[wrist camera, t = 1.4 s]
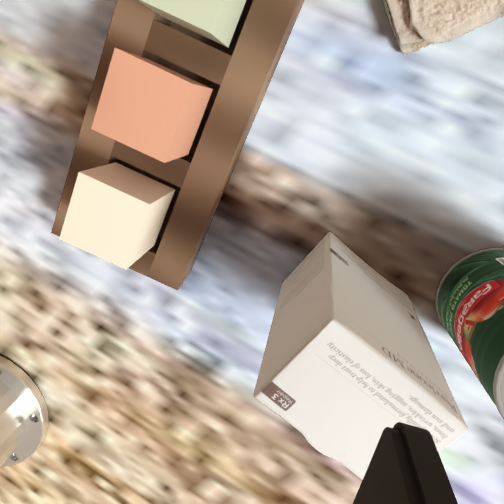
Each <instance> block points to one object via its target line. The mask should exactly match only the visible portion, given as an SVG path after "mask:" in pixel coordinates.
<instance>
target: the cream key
mask: <svg viewBox="0 0 504 504" xmlns="http://www.w3.org/2000/svg"><path fill="white" fill-rule="evenodd" d="M174 192H175V189H173V188H171V187H168V186H166V185H164V184H162V183H160V182H158V181H155V180H153V179H151V178H149V177H147V176H145V175H142V174H140V173H138V172H136V171H134V170H131V169H129V168H127V167H125V166H123V165H121V164H118V163H116V162H115V163H111V164H107V165H103V166H99V167H96V168H92V169H88V170H84V171H80V172H79V173H78V176H77V180H76V183H75V186H74V190H73V193H72V197H71V200H70V204H69V207H68V210H67V214H66V217H65V221H64V224H63V227H62V231H61V234H60V238H59V239H60V240H62V241H64V242H67V243H69V244H71V245H73V246H75V247H77V248H80V249H82V250H84V251H86V252H88V253H91V254H93V255H95V256H97V257H99V258H102V259H104V260H106V261H108V262H110V263H113V264H115V265H117V266H119V267H121V268H124V269H128V268H129V267H130V266H131V265H132V264H133V263H134V262H136V261H137V260H138V259H139V258H140V257H141V256H143V255H144V254H145V253H146V252H147V251H148V250H149V249H151V248H152V247H153V246H154V244H155V242H156V239H157V236H158V234H159V231H160V229H161V226H162V223H163V221H164V218H165V215H166V213H167V210H168V207H169V205H170V202H171V199H172V197H173V194H174Z"/></svg>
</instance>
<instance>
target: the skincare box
mask: <svg viewBox="0 0 504 504" xmlns="http://www.w3.org/2000/svg"><path fill="white" fill-rule="evenodd" d="M254 397H255V398H256V399H257V400H259V401H260V402H261V403H263V404H264V405H265V406H267V407H268V408H269V409H271V410H272V411H274V412H275V413H276V414H278V415H279V416H280V417H282V418H283V419H284V420H286V421H287V422H288V423H290V424H291V425H292V426H294V427H295V428H296V429H297V430H299V431H300V432H301V433H302V434H303V435H304V436H305V438H306V439H307V441H308V442H309V443H310V444H311V445H312V446H313V447H314V448H315V449H316V450H318V451H319V452H320V453H322V454H324V455H325V456H328V457H330V458H333V459H335V460H338V461H339V462H340V463H341V464H343V465H344V466H345V467H347V468H348V469H349V470H350V471H352V472H353V473H354V474H355V475H357V476H358V477H359V478H360V479H362V480H363V478H364V476H365V473H366V471H367V468H368V466H369V464H370V461H371V459H372V456H373V454H374V451H375V449H376V447H377V444H378V442H379V439H380V437H381V435H382V432H383V430H384V429H385V428H386V427H390V428H393V427H394V425H395V424H396V423H398V422H401V423H405V424H408V425H412V426H416V427H419V428H423V429H427V430H428V431H429V432H430V434H431V435H432V438H433V441H434V443H435V446H436V448H437V451H438V452H440V451H441V450H443V449H444V448H445V447H447V446H448V445H450V444H451V443H453V442H454V441H455V440H457V439H458V438H459V437H461V436H462V435H463V434H464V433H466V432H467V431H468V427H467V425H466V424H465V422H464V420H463V417H462V415H461V413H460V411H459V409H458V406H457V404H456V402H455V400H454V398H453V395H452V393H451V391H450V389H449V387H448V384H447V382H446V380H445V378H444V375H443V373H442V371H441V368H440V366H439V364H438V362H437V359H436V357H435V355H434V353H433V350H432V348H431V346H430V343H429V341H428V339H427V337H426V334H425V332H424V330H423V328H422V326H421V324H420V321H419V319H418V317H417V314H416V312H415V310H414V308H413V305H412V303H411V301H410V299H409V297H408V296H407V294H406V293H404V292H403V291H402V290H400V289H399V288H397V287H396V286H394V285H393V284H392V283H390V282H389V281H388V280H386V279H385V278H384V277H382V276H381V275H380V274H379V273H377V272H376V271H375V270H374V269H372V268H371V267H370V266H369V265H368V264H366V263H365V262H364V261H363V260H362V259H360V258H359V257H358V256H357V255H356V254H355V253H354V252H353V251H351V250H350V249H349V248H348V247H347V246H346V245H345V244H344V243H342V242H341V241H340V240H339V238H337V237H336V236H335V235H334V234H333V233H331V232H328V233H327V234H326V235H325V236H324V237H323V239H322V240H321V241H320V242H319V243H318V244H317V245H316V246H315V247H314V248H313V250H312V251H311V252H310V253H309V254H308V255H307V256H306V257H305V258H304V260H303V261H302V262H301V263H300V264H299V265H298V266H297V267H296V268H295V269H294V271H293V272H292V273H291V274H290V275H289V276H288V277H287V278H286V279H285V280H284V281H283V283H282V286H281V290H280V294H279V298H278V301H277V305H276V309H275V313H274V317H273V321H272V325H271V328H270V332H269V336H268V341H267V345H266V348H265V352H264V356H263V360H262V364H261V368H260V372H259V376H258V379H257V383H256V387H255V391H254Z"/></svg>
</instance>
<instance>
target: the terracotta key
mask: <svg viewBox="0 0 504 504" xmlns="http://www.w3.org/2000/svg"><path fill="white" fill-rule="evenodd" d="M212 90H213V89H212V88H209V87H207V86H205V85H203V84H201V83H199V82H197V81H194V80H192V79H190V78H188V77H186V76H184V75H182V74H179V73H177V72H175V71H173V70H171V69H169V68H167V67H165V66H162V65H160V64H158V63H156V62H154V61H152V60H150V59H147V58H144V57H141V56H138V55H135V54H132V53H129V52H127V51H124V50H121V49H118V48H115V49H114V52H113V56H112V59H111V62H110V66H109V69H108V73H107V76H106V80H105V83H104V86H103V90H102V93H101V97H100V100H99V103H98V107H97V110H96V114H95V117H94V121H93V124H92V127H91V129H92V130H94V131H97V132H99V133H101V134H103V135H105V136H107V137H110V138H112V139H114V140H116V141H118V142H120V143H123V144H125V145H127V146H129V147H131V148H133V149H136V150H138V151H140V152H142V153H144V154H146V155H148V156H151V157H153V158H155V159H157V160H159V161H161V162H164V163H166V162H169V161H171V160H174V159H177V158H180V157H183V156H186V155H188V154H189V151H190V149H191V146H192V143H193V141H194V138H195V135H196V133H197V130H198V127H199V125H200V122H201V120H202V117H203V114H204V112H205V109H206V106H207V104H208V101H209V98H210V96H211V93H212Z"/></svg>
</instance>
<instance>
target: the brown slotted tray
mask: <svg viewBox="0 0 504 504" xmlns="http://www.w3.org/2000/svg"><path fill="white" fill-rule="evenodd" d="M303 2H304V0H246V3H245V5H244V8H243V10H242V13H241V16H240V18H239V21H238V24H237V26H236V29H235V32H234V34H233V37H232V40H231V42H230V45H229V47H226V46H223V45H221V44H219V43H217V42H215V41H213V40H211V39H208V38H206V37H204V36H202V35H200V34H198V33H196V32H194V31H191V30H189V29H187V28H185V27H183V26H181V25H179V24H177V23H174V22H172V21H170V20H168V19H166V18H164V17H162V16H160V15H159V14H157V13H156V12H154V11H153V10H151V9H150V8H148V7H147V6H145V5H144V4H142V3H141V2H139V1H138V0H117V3H116V7H115V10H114V14H113V17H112V21H111V24H110V28H109V31H108V35H107V38H106V42H105V45H104V49H103V52H102V56H101V59H100V63H99V66H98V70H97V73H96V77H95V80H94V84H93V87H92V91H91V95H90V98H89V102H88V105H87V109H86V112H85V116H84V119H83V123H82V126H81V130H80V133H79V137H78V140H77V144H76V147H75V151H74V154H73V158H72V161H71V165H70V168H69V172H68V175H67V179H66V182H65V186H64V190H63V193H62V197H61V200H60V204H59V207H58V211H57V214H56V218H55V221H54V225H53V228H52V232H51V233H53V234H55V235H58V236H60V234H61V231H62V227H63V224H64V221H65V217H66V214H67V210H68V207H69V204H70V200H71V197H72V193H73V190H74V186H75V183H76V180H77V176H78V173H79V172H80V171H84V170H88V169H92V168H96V167H99V166H103V165H107V164H111V163H115V162H116V163H118V164H121V165H123V166H125V167H127V168H129V169H131V170H134V171H136V172H138V173H140V174H142V175H145V176H147V177H149V178H151V179H153V180H155V181H158V182H160V183H162V184H164V185H166V186H168V187H171V188H173V189H175V192H174V194H173V197H172V199H171V202H170V205H169V207H168V210H167V213H166V215H165V218H164V221H163V223H162V226H161V229H160V231H159V234H158V236H157V239H156V242H155V244H154V246H153V247H152V248H151V249H149V250H148V251H147V252H146V253H145V254H144V255H143V256H141V257H140V258H139V259H138V260H137V261H136V262H134V263H133V264H132V265H131V266H130V267H129V268H130V269H132V270H134V271H136V272H139V273H141V274H143V275H145V276H147V277H150V278H152V279H154V280H156V281H158V282H161V283H163V284H165V285H167V286H169V287H172V288H174V289H176V290H178V289H179V288H180V286H181V285H182V284H183V282H184V281H185V279H186V278H187V277H188V275H189V273H190V271H191V269H192V266H193V264H194V261H195V259H196V257H197V254H198V252H199V250H200V247H201V245H202V242H203V240H204V238H205V235H206V233H207V231H208V228H209V226H210V223H211V221H212V219H213V216H214V214H215V212H216V209H217V207H218V204H219V202H220V200H221V197H222V195H223V192H224V190H225V188H226V185H227V183H228V181H229V178H230V176H231V173H232V171H233V169H234V166H235V164H236V162H237V159H238V157H239V154H240V152H241V150H242V147H243V145H244V142H245V140H246V138H247V135H248V133H249V131H250V128H251V126H252V123H253V121H254V119H255V116H256V114H257V112H258V109H259V107H260V104H261V102H262V100H263V97H264V95H265V93H266V90H267V88H268V85H269V83H270V81H271V78H272V76H273V73H274V71H275V69H276V66H277V64H278V62H279V59H280V57H281V54H282V52H283V50H284V47H285V45H286V43H287V40H288V38H289V35H290V33H291V31H292V28H293V26H294V24H295V21H296V19H297V16H298V14H299V12H300V9H301V7H302V4H303ZM115 48H118V49H121V50H124V51H127V52H129V53H132V54H135V55H138V56H141V57H144V58H147V59H150V60H152V61H154V62H156V63H158V64H160V65H162V66H165V67H167V68H169V69H171V70H173V71H175V72H177V73H179V74H182V75H184V76H186V77H188V78H190V79H192V80H194V81H197V82H199V83H201V84H203V85H205V86H207V87H209V88H212V89H213V90H212V93H211V96H210V98H209V101H208V104H207V106H206V109H205V112H204V114H203V117H202V120H201V122H200V125H199V127H198V130H197V133H196V135H195V138H194V141H193V143H192V146H191V149H190V151H189V154H188V155H186V156H183V157H180V158H177V159H174V160H171V161H169V162H166V163H164V162H161V161H159V160H157V159H155V158H153V157H151V156H148V155H146V154H144V153H142V152H140V151H138V150H136V149H133V148H131V147H129V146H127V145H125V144H123V143H120V142H118V141H116V140H114V139H112V138H110V137H107V136H105V135H103V134H101V133H99V132H97V131H94V130H92V129H91V127H92V124H93V121H94V117H95V114H96V110H97V107H98V103H99V100H100V97H101V93H102V90H103V86H104V83H105V80H106V76H107V73H108V69H109V66H110V62H111V59H112V56H113V52H114V49H115Z"/></svg>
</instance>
